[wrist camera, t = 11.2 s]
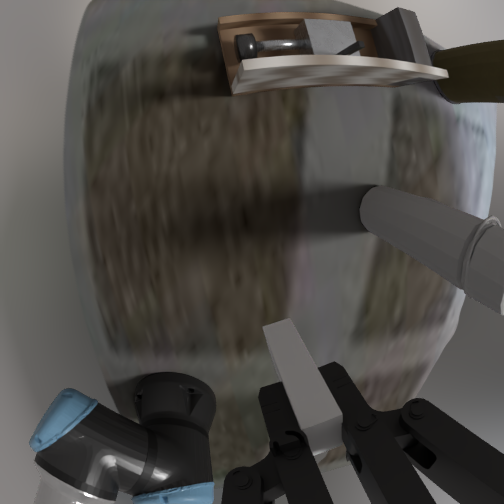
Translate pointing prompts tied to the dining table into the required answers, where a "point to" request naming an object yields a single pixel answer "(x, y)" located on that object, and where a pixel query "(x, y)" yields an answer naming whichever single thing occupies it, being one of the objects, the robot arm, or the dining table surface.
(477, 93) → the canister
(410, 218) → the water bottle
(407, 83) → the brown wooden box
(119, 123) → the dining table surface
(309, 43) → the silver block with knob
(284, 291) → the dining table surface
